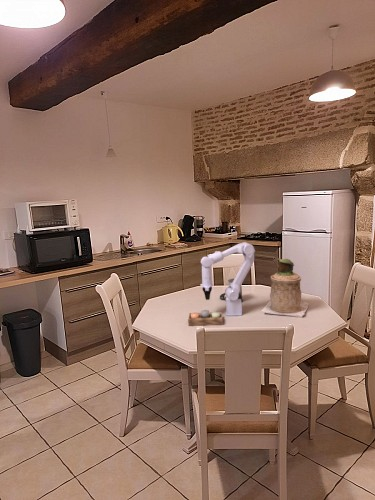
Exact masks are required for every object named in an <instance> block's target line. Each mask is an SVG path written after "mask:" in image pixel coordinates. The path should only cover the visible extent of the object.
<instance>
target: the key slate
mask: <svg viewBox="0 0 375 500" xmlns="http://www.w3.org/2000/svg"><path fill="white" fill-rule="evenodd" d="M209 312H210V311H209V310H208V309H204V310H201V311H200V313H201V318H209Z"/></svg>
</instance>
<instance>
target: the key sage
mask: <svg viewBox="0 0 375 500" xmlns="http://www.w3.org/2000/svg"><path fill="white" fill-rule="evenodd" d="M212 312H213V311H212ZM219 312H220V311H214V312H213V313H212V318H214V317H220V313H219Z"/></svg>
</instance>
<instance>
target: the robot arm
mask: <svg viewBox="0 0 375 500" xmlns="http://www.w3.org/2000/svg"><path fill="white" fill-rule="evenodd" d="M255 252H256V249H255V246H253V244H251V243H248V242H246V241H243V242H241V243H238V244H235V245H234V246H232V247H230V248H228V249H226V250H225V249H224V250H223V251H220V250H218V251H217V250H216V251H214V253H212V254H207V256H203V257H202V258H201V259H200V264H201V283H200V286H201V287H202V291H203V293H204V299H205V300H206V301H209V300H210V298H211V293H212V291H213V277H212V276H213V275H212V266H213V265H215V264H217V263H219V262H221V261H224V258H225V257H228V256H231V255H234V254H235V253H236V254H237V253H239V254H242V255H243V259H244V260H243V263H242V264H241V266H240V268H239V269H238V272H237V273H236V275H235V277H234V278H233V279H234V281H233V282H232V283H231V284H230V285H229V284H228V286H227V287H226V288H225V290H224V293H225V294H226V295H225V296H226V297H225V298H226V300H225V308H226V309H225V316H232V317H233V316H243V305H242V304H243V303H242V302H241V299H238V297H239V292H240V286H241V284H243V282H244V281H245V278H246V277H247V275H248V273H249V271H250V269H251V268H252V266H253V264H254V262H255Z"/></svg>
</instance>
